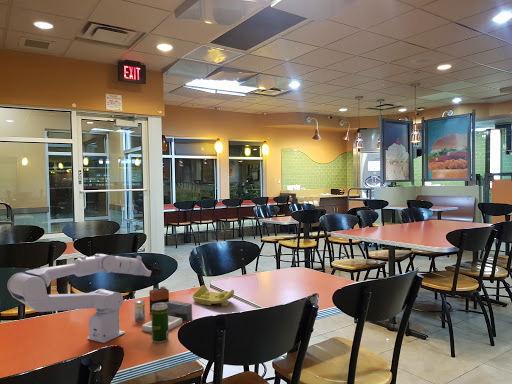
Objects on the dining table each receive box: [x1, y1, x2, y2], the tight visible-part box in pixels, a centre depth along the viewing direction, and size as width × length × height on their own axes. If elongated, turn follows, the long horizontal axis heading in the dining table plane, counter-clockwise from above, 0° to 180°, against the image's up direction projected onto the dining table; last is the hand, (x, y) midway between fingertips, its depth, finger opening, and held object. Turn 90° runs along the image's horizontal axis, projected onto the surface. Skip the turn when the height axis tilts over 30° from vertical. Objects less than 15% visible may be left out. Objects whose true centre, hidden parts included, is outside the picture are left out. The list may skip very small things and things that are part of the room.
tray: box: [141, 316, 183, 334], centre depth 140 cm, size 12×9×2 cm
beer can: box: [151, 302, 170, 344], centre depth 128 cm, size 5×5×12 cm
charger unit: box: [166, 300, 193, 323], centre depth 149 cm, size 3×10×6 cm, turn 63°
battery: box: [148, 285, 170, 314], centre depth 156 cm, size 4×7×10 cm, turn 126°
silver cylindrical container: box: [134, 299, 146, 323], centre depth 148 cm, size 4×4×7 cm
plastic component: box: [191, 285, 235, 307], centre depth 167 cm, size 20×7×10 cm
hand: (153, 268), depth 150 cm, fingers open, 7 cm apart
